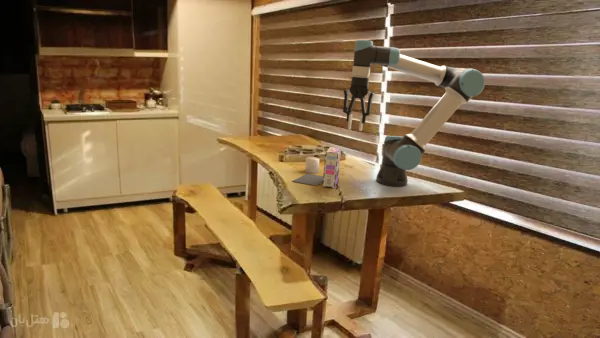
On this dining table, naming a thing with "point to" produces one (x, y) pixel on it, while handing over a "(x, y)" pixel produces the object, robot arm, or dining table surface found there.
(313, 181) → the mat
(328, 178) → the candy box
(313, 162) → the cream capsule shape
